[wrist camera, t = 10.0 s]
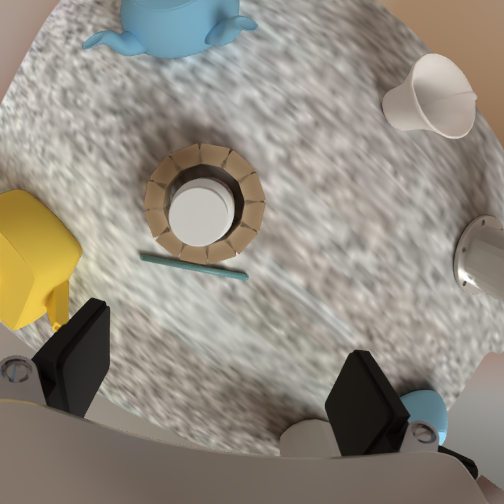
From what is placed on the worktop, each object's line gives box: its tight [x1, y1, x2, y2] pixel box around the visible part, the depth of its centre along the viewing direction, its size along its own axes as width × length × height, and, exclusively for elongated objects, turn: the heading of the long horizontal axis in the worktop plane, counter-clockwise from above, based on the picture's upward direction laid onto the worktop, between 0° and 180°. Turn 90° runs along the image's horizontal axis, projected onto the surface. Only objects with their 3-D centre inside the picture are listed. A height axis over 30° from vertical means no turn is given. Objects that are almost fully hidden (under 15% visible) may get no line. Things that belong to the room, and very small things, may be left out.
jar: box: [279, 419, 341, 457], centre depth 35 cm, size 10×10×18 cm
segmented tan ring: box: [144, 143, 266, 265], centre depth 31 cm, size 12×12×3 cm
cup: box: [382, 53, 477, 139], centre depth 26 cm, size 9×9×10 cm
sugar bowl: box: [400, 390, 447, 445], centre depth 40 cm, size 15×15×12 cm
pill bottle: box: [169, 177, 235, 246], centre depth 28 cm, size 6×6×10 cm
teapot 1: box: [0, 190, 82, 332], centre depth 27 cm, size 20×12×12 cm, turn 47°
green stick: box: [140, 254, 249, 280], centre depth 34 cm, size 13×1×1 cm, turn 78°
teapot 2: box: [82, 0, 258, 58], centre depth 21 cm, size 15×15×10 cm
